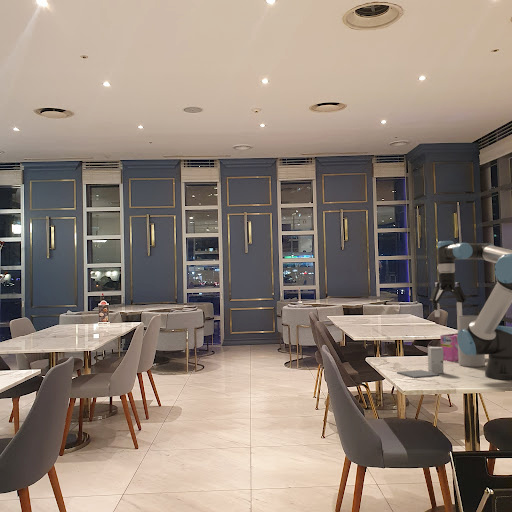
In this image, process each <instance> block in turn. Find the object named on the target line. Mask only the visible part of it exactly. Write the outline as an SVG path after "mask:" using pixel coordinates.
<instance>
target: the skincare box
mask: <svg viewBox="0 0 512 512" xmlns="http://www.w3.org/2000/svg"><path fill="white" fill-rule="evenodd" d="M427 366H428V367H427V369H428V370H427V371H428V372H432V373H436V374H444V360H443V348H442V347H441V346H427Z"/></svg>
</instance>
